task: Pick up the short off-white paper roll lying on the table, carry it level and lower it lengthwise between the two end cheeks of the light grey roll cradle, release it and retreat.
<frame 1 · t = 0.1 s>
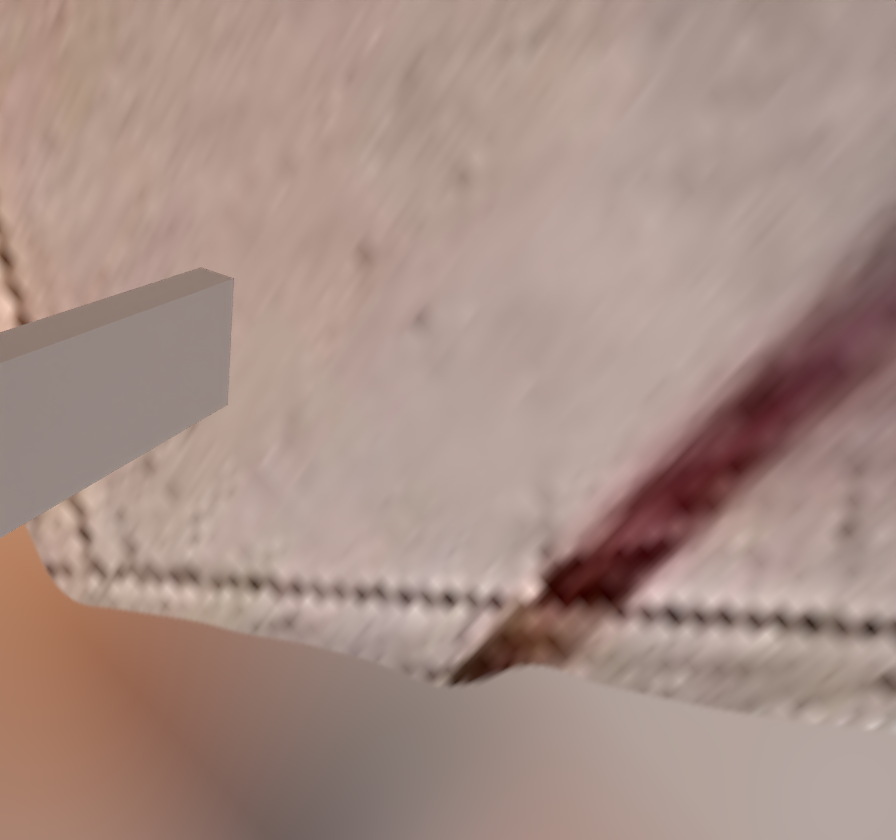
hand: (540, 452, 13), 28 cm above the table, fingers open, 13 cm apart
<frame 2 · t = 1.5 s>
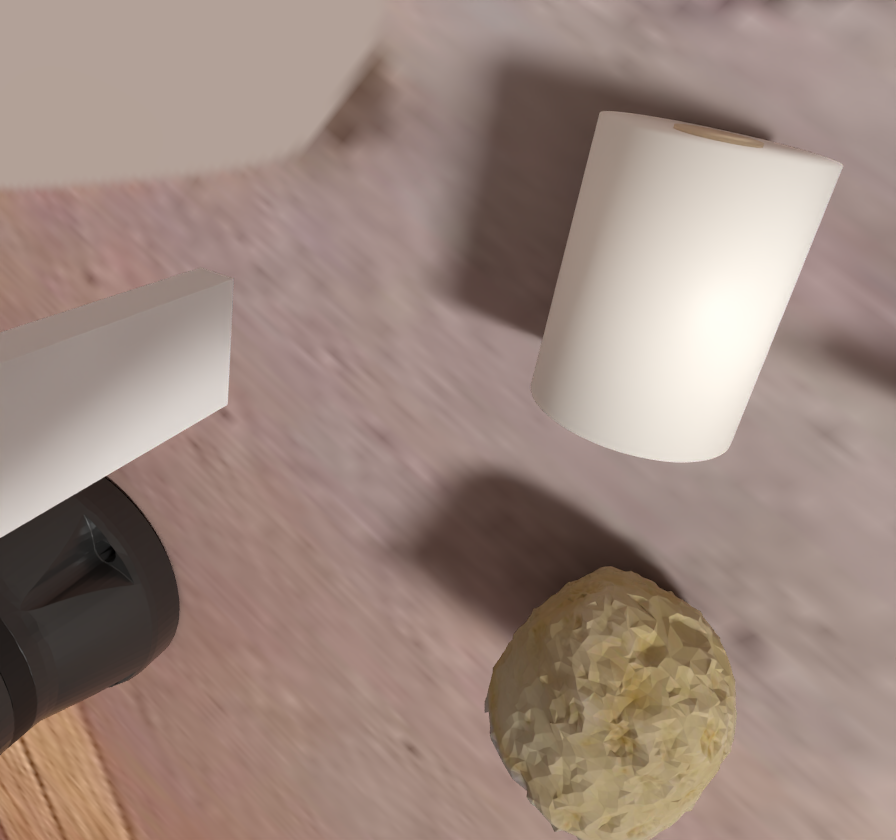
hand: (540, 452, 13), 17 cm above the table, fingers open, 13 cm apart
roll: (670, 284, 24), point 3 cm above the table, tilted 13°
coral: (640, 626, 34), on the table
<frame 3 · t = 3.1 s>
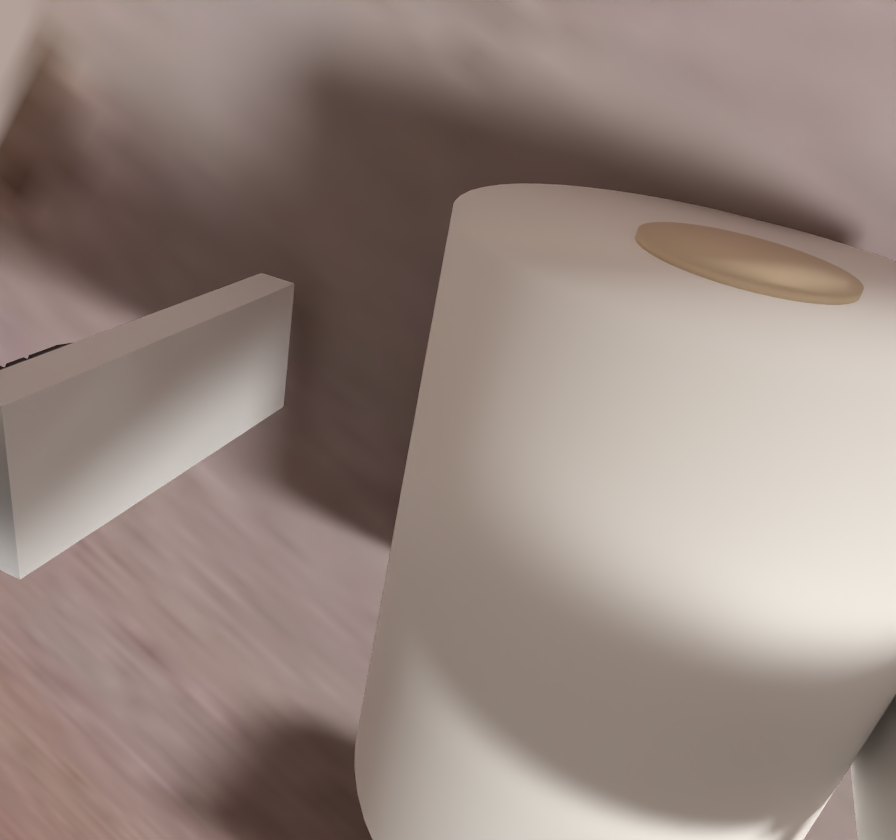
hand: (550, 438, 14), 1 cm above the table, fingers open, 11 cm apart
roll: (633, 562, 11), point 3 cm above the table, tilted 38°
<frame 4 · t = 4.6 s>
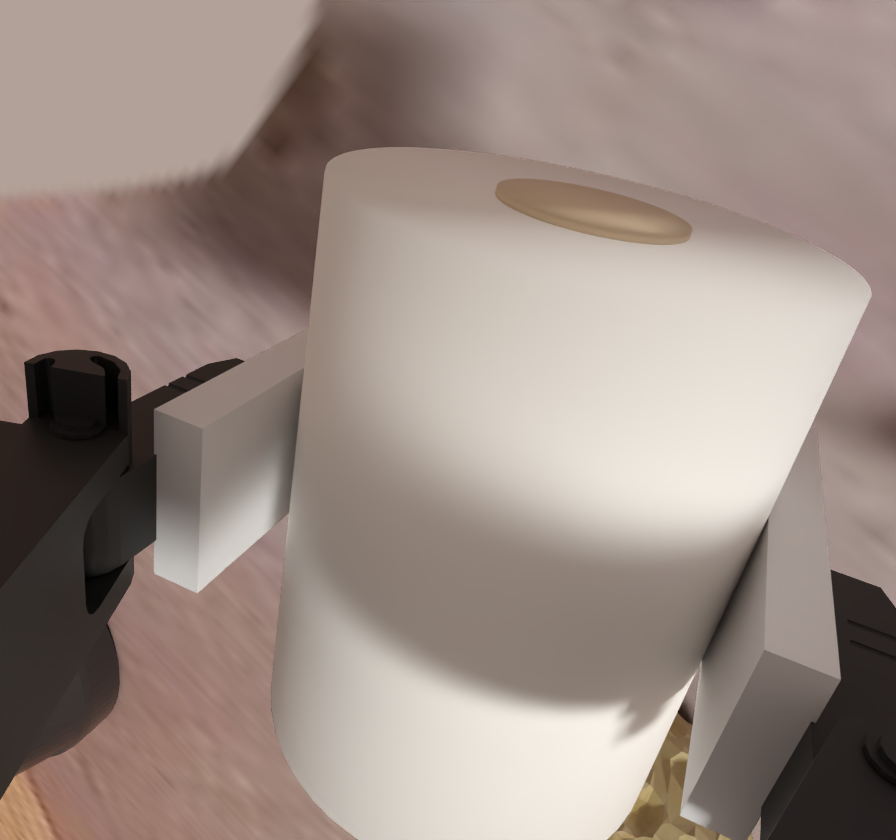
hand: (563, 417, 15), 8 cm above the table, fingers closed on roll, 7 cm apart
roll: (515, 493, 12), point 11 cm above the table, tilted 10°, touching gripper
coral: (639, 740, 28), on the table
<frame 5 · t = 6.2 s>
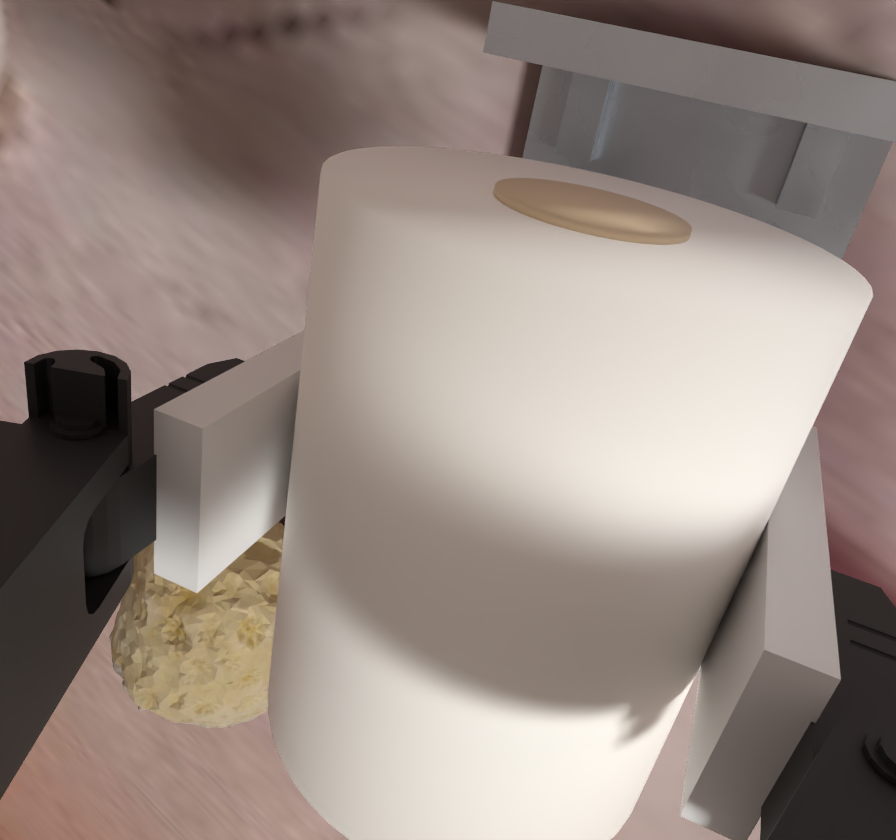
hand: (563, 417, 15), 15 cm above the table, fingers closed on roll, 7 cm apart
roll: (514, 494, 12), point 18 cm above the table, tilted 8°, touching gripper
cradle: (657, 263, 27), on the table
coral: (280, 556, 40), on the table
when the fingers open (2 cm above the table, at t = 8.3 s): roll stays where it is, resting on cradle.
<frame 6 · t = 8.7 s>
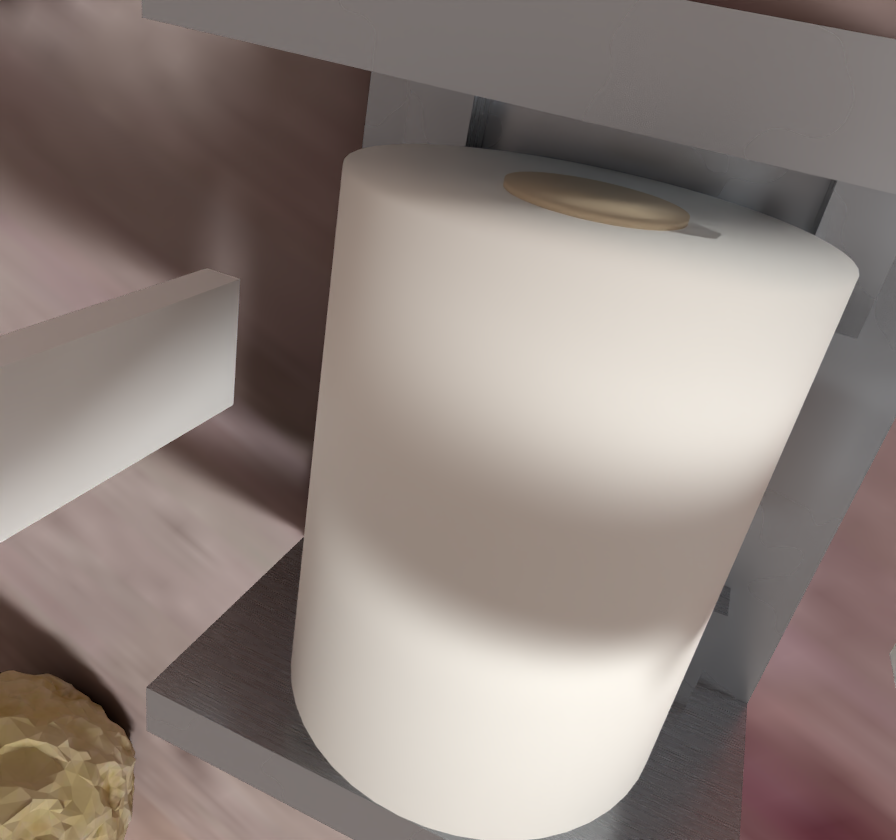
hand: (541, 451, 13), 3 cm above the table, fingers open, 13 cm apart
roll: (524, 473, 13), point 4 cm above the table, tilted 8°, touching cradle
cradle: (584, 384, 16), on the table
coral: (101, 731, 29), on the table
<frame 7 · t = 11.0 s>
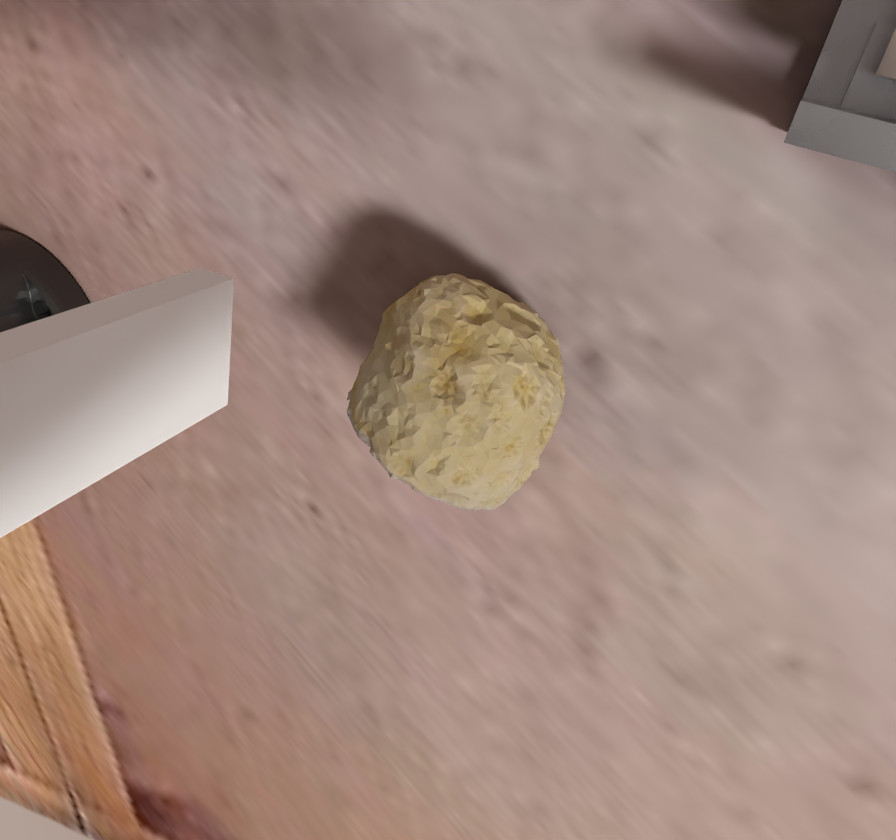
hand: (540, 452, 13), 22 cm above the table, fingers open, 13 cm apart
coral: (504, 358, 38), on the table
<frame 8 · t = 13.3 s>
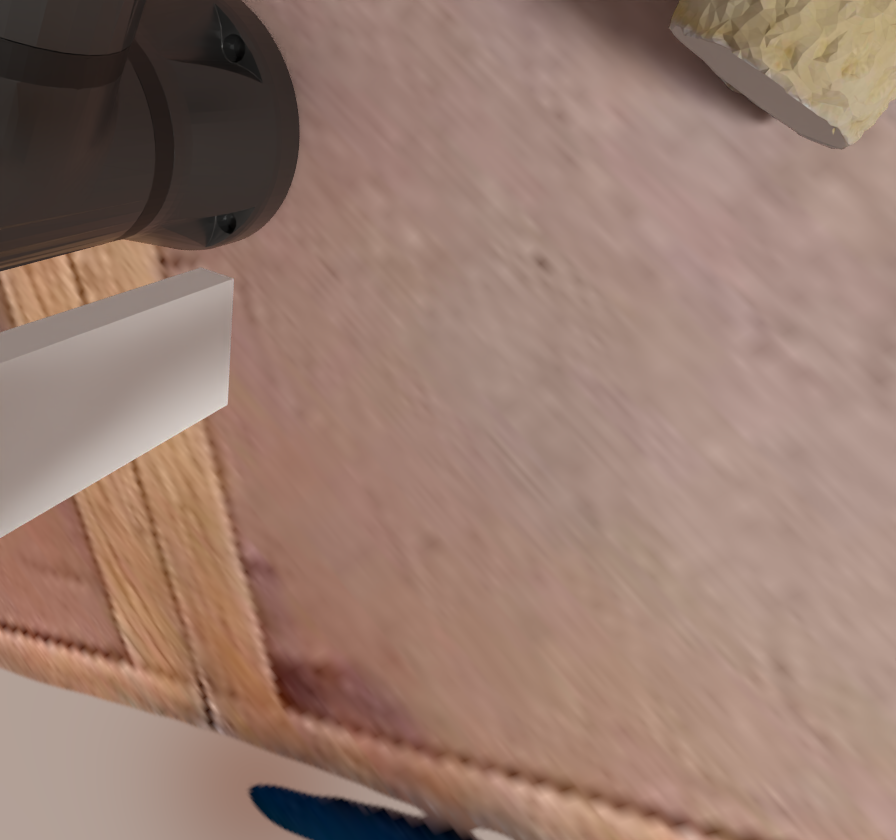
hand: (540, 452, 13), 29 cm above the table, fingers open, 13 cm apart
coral: (811, 16, 33), on the table
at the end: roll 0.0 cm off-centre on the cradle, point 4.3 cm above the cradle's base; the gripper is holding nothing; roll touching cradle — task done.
